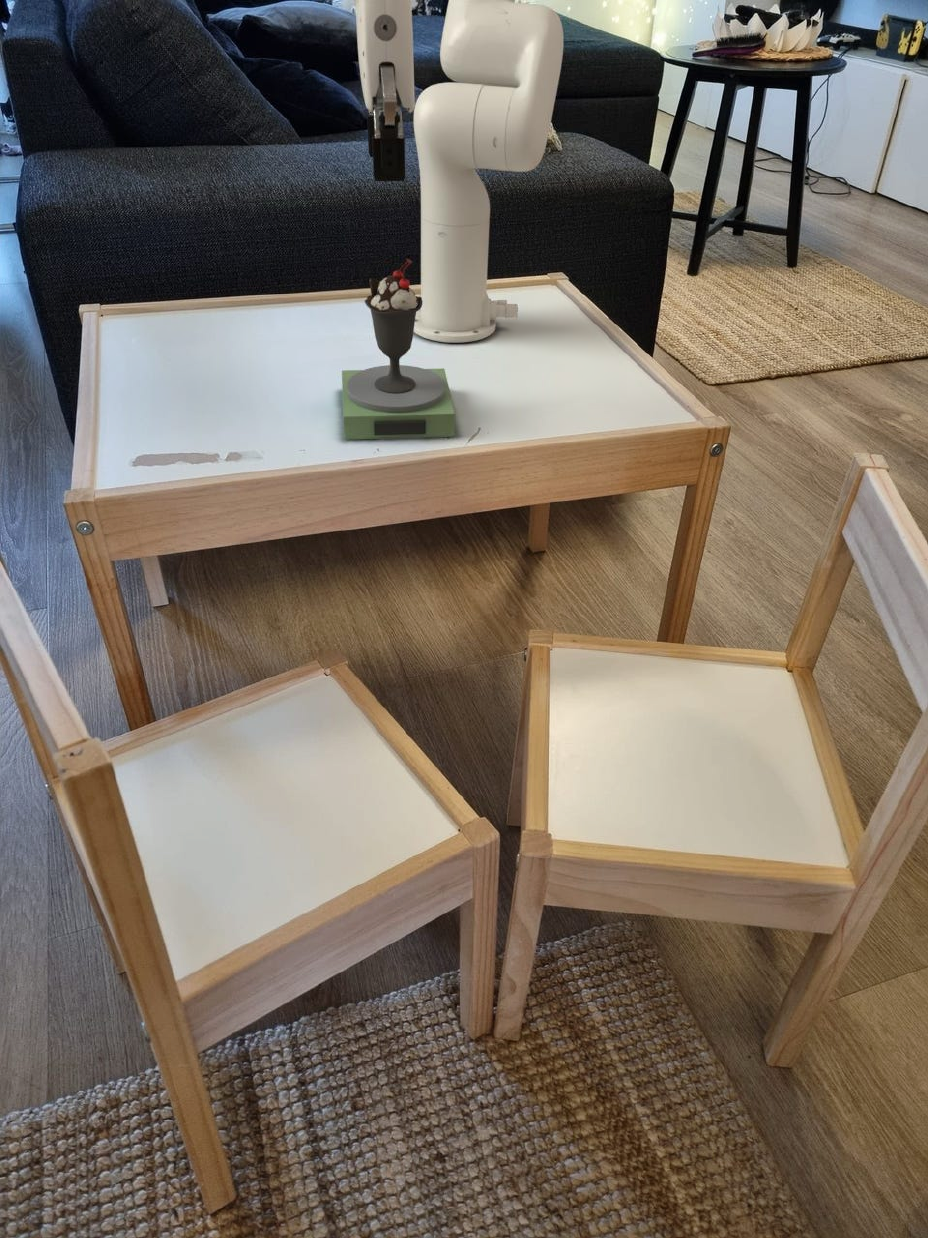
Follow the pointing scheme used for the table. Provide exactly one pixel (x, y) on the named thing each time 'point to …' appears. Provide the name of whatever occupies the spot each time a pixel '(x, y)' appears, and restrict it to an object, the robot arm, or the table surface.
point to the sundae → (393, 325)
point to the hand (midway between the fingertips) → (386, 167)
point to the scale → (397, 405)
